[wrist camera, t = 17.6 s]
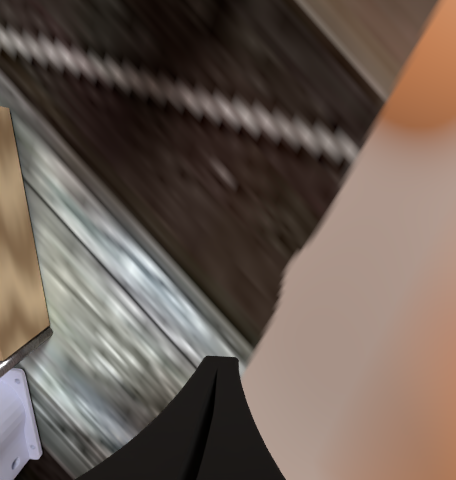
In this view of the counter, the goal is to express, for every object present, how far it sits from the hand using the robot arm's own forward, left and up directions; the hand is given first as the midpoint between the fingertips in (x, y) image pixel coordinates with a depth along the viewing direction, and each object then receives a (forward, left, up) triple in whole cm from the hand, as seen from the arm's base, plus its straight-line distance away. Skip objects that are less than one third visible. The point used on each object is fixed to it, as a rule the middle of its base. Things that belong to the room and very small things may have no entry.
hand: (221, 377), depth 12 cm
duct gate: (+4, +16, -9) cm, 19 cm away
